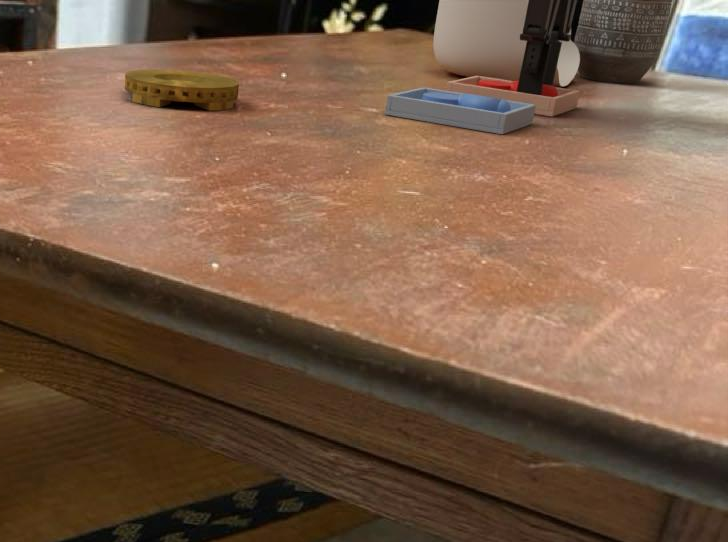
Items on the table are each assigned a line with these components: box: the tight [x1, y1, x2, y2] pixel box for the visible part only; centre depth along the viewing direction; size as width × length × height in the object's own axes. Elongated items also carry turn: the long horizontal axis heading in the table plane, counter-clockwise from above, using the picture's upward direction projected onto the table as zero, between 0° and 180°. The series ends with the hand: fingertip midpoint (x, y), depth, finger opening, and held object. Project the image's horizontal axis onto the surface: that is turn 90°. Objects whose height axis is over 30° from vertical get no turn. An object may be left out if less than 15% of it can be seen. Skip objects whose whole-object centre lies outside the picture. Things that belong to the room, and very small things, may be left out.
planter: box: [573, 0, 674, 85], centre depth 162 cm, size 12×12×13 cm
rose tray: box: [445, 76, 581, 117], centre depth 133 cm, size 13×10×2 cm
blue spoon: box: [422, 93, 511, 113], centre depth 119 cm, size 10×4×2 cm, turn 58°
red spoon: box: [478, 80, 559, 98], centre depth 133 cm, size 10×4×2 cm, turn 58°
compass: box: [124, 69, 240, 111], centre depth 117 cm, size 12×12×2 cm
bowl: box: [432, 0, 580, 87], centre depth 153 cm, size 20×19×12 cm
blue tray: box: [384, 87, 536, 135], centre depth 120 cm, size 13×10×2 cm
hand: (532, 99), depth 132 cm, fingers open, 4 cm apart
